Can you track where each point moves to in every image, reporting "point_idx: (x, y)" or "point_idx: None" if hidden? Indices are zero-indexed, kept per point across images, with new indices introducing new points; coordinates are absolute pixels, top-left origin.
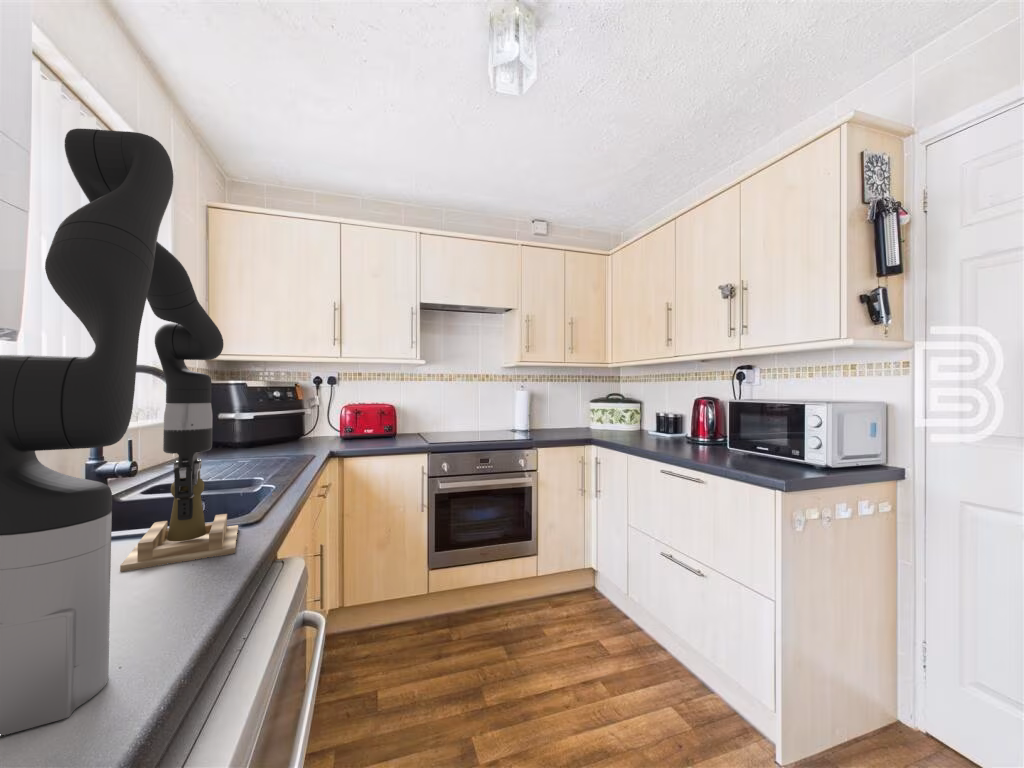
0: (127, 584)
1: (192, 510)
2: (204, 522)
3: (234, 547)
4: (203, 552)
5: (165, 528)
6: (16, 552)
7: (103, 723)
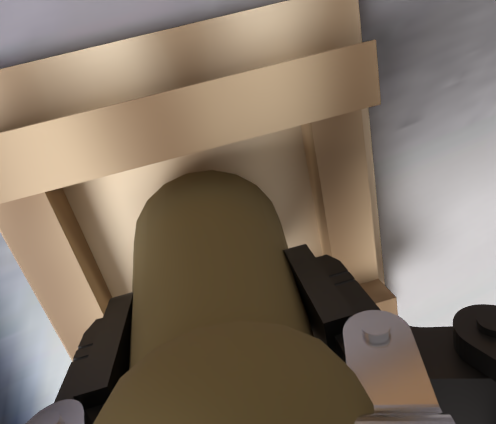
0: (489, 241)
1: (316, 264)
2: (196, 196)
3: None
4: (364, 112)
5: None
6: None
7: None
